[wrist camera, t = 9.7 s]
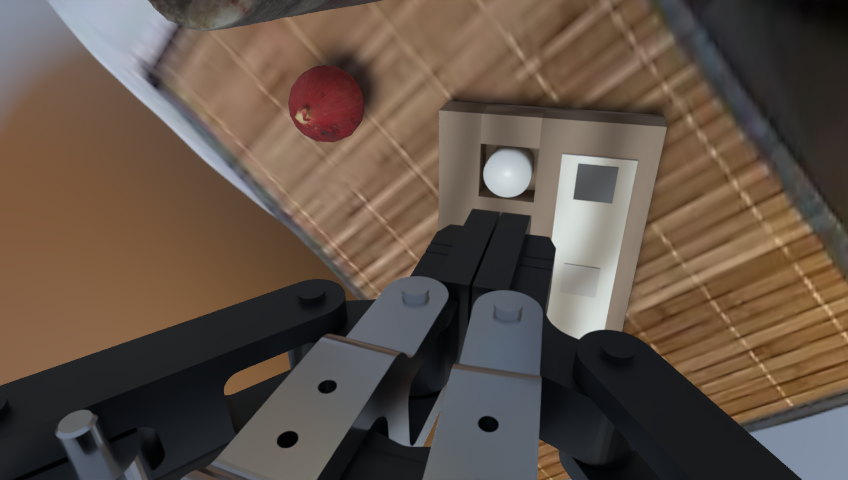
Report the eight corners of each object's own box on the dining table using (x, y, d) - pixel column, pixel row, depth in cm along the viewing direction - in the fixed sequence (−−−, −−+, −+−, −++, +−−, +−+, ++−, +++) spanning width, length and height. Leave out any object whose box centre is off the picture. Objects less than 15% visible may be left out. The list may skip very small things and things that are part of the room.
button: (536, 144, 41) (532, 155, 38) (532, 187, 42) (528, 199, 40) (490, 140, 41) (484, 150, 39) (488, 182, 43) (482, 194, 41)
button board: (663, 115, 38) (667, 128, 35) (606, 381, 50) (605, 406, 48) (449, 100, 42) (437, 111, 39) (446, 349, 55) (437, 371, 52)
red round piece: (390, 112, 44) (350, 142, 37) (336, 136, 47) (291, 168, 40) (357, 46, 42) (310, 65, 35) (304, 74, 45) (250, 97, 38)
